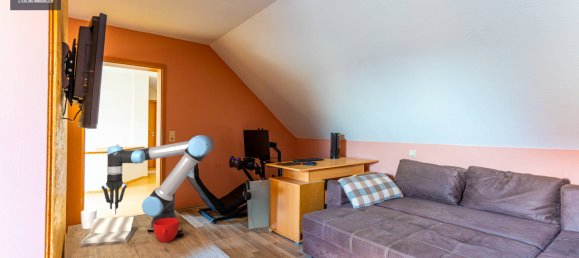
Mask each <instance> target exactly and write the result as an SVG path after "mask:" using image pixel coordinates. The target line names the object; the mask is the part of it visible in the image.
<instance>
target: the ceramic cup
mask: <svg viewBox="0 0 579 258" xmlns="http://www.w3.org/2000/svg"><path fill="white" fill-rule="evenodd" d="M153 227H154V228H153V233H154V236H155V238H156V239H157V240H158V241H159V242H160V243H169V242H172V241H174V238H175V237H176V236H177V234H178V233H179V228H180V220H179V219H178V218H177V219H176V218H164V219H159V220H157V221H155V222H154V223H153Z"/></svg>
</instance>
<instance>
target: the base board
mask: <svg viewBox="0 0 579 258" xmlns="http://www.w3.org/2000/svg"><path fill="white" fill-rule="evenodd" d="M136 231H137V227H136V226H135V227H133V226H132V229H131V233H130V231H125V232H111V233H98V234H89V233H88V235H86V236H85V237H84V238H83V239H82V240H81V241H80V243H79V244H78V245H77V246H78V247H77V248H87V247H97V246H98V247H99V246H109V245H111V246H112V245H121V244H128V242H129V241H130V240H131V238H132V237H133V235H134V234H135V232H136Z"/></svg>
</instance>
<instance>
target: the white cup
mask: <svg viewBox="0 0 579 258" xmlns="http://www.w3.org/2000/svg"><path fill="white" fill-rule="evenodd" d="M97 213H98V211H97V209H96V208H90V209H84V210H82V211H80V221H81V222H80V223H81V229H82V230H91V228H92V225H93V222H94V220H95V219H97Z"/></svg>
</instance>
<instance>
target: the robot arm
mask: <svg viewBox="0 0 579 258" xmlns="http://www.w3.org/2000/svg"><path fill="white" fill-rule="evenodd" d="M214 148H215V142H214V139H213V137H210V136H209V135H207V134H204V135H200V134H199V135H195V136H193V137H191V139H189V140H187V141H181V142H174V143H169V144H163V145H158V146H152V147H144V148H138V149H130V150H129V149H124V148H123V147H122V146H119V145H117V146H116V145H115V146H108V147H107V154H106V155H107V166H106V173H107V175H106V183H105V184H104V185H102V186H101V190H102V191H103V195H104V199H105V202H106V203H107V204H109V209H110V210H111V216H116V215H117V210H118V209H119V203H121V202H122V201H123V198H124V196H125V195H124V194H125V190H126V189H127V187H128V184H125V183H124V181H123V164H135V165H136V164H137V165H138V164H143V163H144V162H145V161H150V160H157V159H162V158H163V159H164V158H169V157H175V156H182V155H183V156H182V157H181V158H180V159H179V161H178V163H176V165H175V166H174V167H173V169H172V170H171V171H170V172H169V174H168V175H167V177H166V178H165V179H164V181H163V182H162V183H161V185H160V186H159V187H155V188H154V189H153V190H152V192H151V193H150V195H148V197H146V198H145V199H144V200H143V201H142V203H141V210H142V212H143V213H144V214H145V215H146V216H148V217H150V218H151V217H152V219H151V223H150V227H151V228H152V229H154V227H153V223H154V222H155V221H157V220H159V219H164V218H176V219H178V218H177V215H176V212H175V211H176V210H175V209H176V208H175V207H176V201H175V200H176V191H177V190H178V188H179V187H180V186H181V185H182V183H183V182H184V181H185V179H186V178H187V176H188V175H189V174H190V173H191V171H192V170H193V169H194V168H195V166H196V165H197V164H198V163H201V162H203V160H204V159H205V158H206V156H208V154H209V153H211V152H212V151H213V150H214ZM120 188H121V192H120ZM108 189H109V191H108ZM114 198H115V199H114Z"/></svg>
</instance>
